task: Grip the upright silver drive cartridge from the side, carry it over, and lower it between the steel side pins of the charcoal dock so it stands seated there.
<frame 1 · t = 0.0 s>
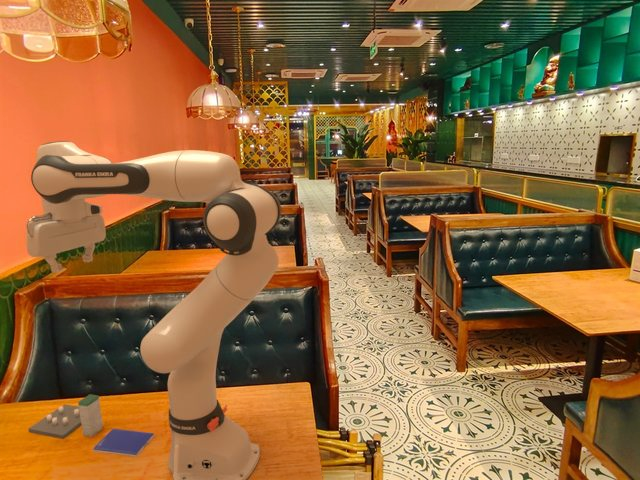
hand: (73, 266, 105), 48 cm above the table, tool pointing down, fingers open, 8 cm apart
hard drive: (124, 445, 113), on the table
dock: (64, 422, 122), on the table
drive cartridge: (93, 431, 118), on the table
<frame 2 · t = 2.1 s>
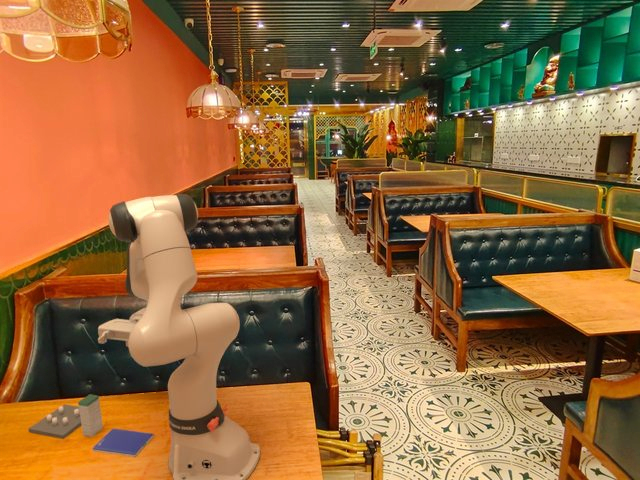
hand: (113, 343, 125), 21 cm above the table, tool horizontal, fingers open, 8 cm apart
nothing on the table moved.
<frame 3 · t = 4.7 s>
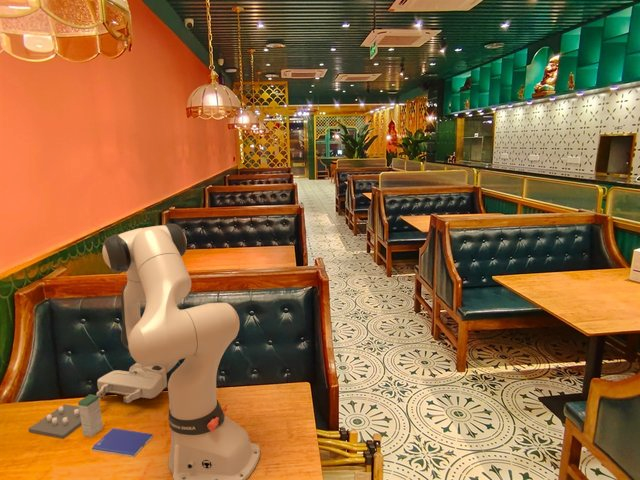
hand: (111, 398, 124), 5 cm above the table, tool horizontal, fingers open, 8 cm apart
nothing on the table moved.
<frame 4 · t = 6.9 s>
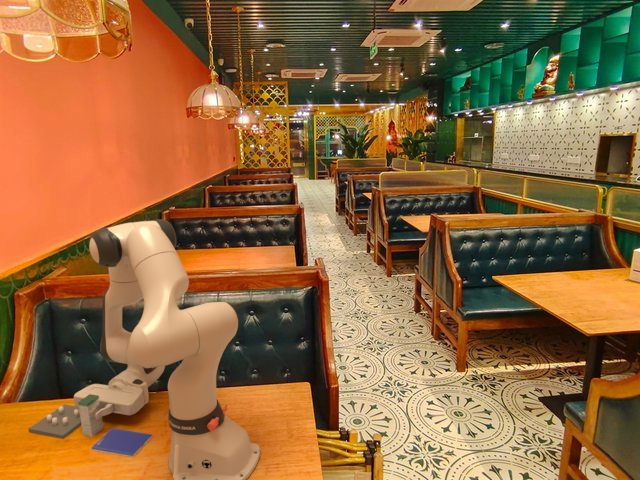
hand: (88, 415, 116), 6 cm above the table, tool horizontal, fingers closed on drive cartridge, 3 cm apart
drive cartridge: (93, 431, 118), on the table, touching gripper
everything else where it was.
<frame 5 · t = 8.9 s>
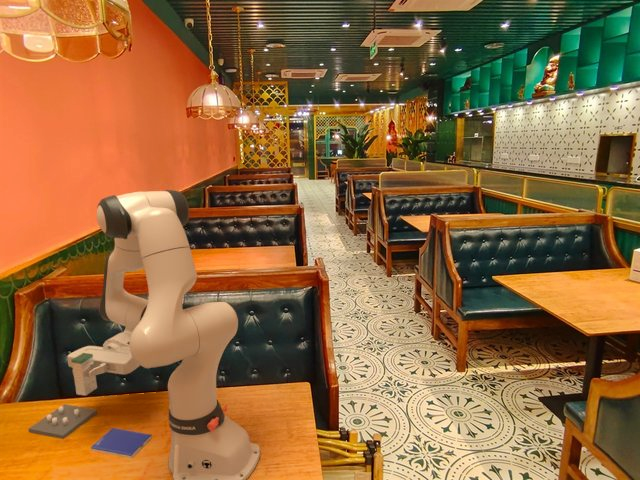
hand: (81, 373, 113), 18 cm above the table, tool horizontal, fingers closed on drive cartridge, 3 cm apart
drive cartridge: (87, 390, 115), point 12 cm above the table, touching gripper
everything else where it was.
when the fingers open (8 cm above the table, at t = 11.2 s): drive cartridge stays where it is, resting on dock.
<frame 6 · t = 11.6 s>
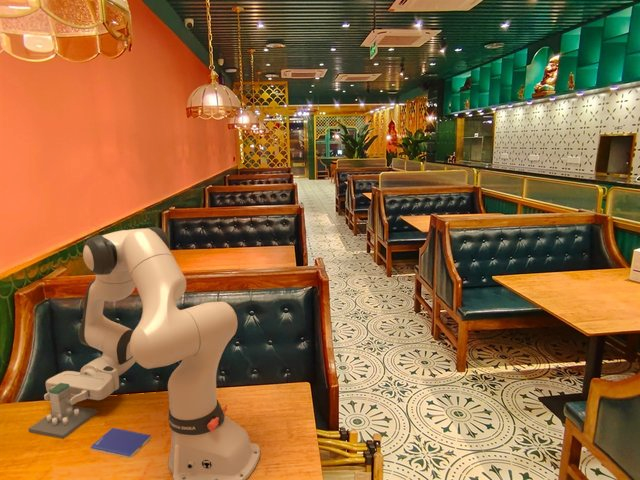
hand: (57, 400, 120), 7 cm above the table, tool horizontal, fingers open, 7 cm apart
drive cartridge: (64, 418, 122), point 1 cm above the table, touching dock
everything else where it was.
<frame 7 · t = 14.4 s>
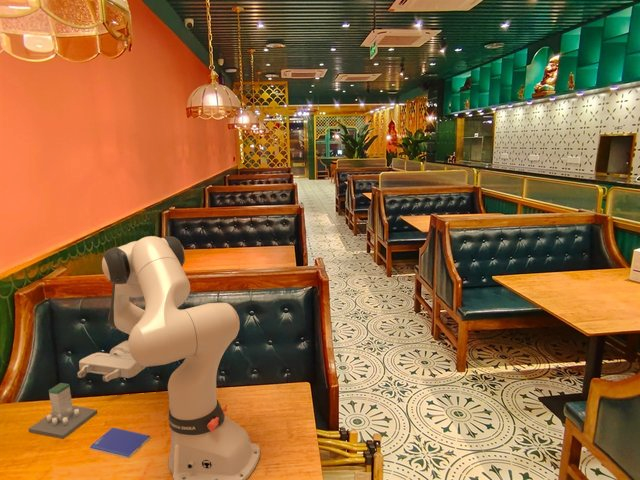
hand: (91, 377, 132), 8 cm above the table, tool horizontal, fingers open, 8 cm apart
nothing on the table moved.
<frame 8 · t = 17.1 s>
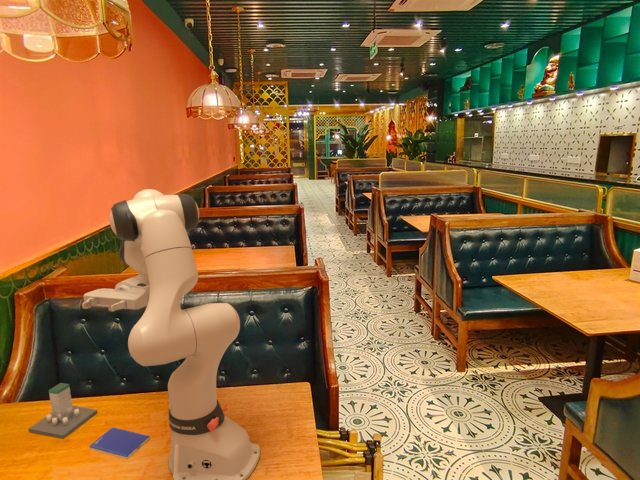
hand: (97, 307, 128), 30 cm above the table, tool horizontal, fingers open, 8 cm apart
at the end: drive cartridge 0.1 cm off-centre on the dock, point 1.0 cm above the dock's base; drive cartridge tilted 0°; the gripper is holding nothing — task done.
